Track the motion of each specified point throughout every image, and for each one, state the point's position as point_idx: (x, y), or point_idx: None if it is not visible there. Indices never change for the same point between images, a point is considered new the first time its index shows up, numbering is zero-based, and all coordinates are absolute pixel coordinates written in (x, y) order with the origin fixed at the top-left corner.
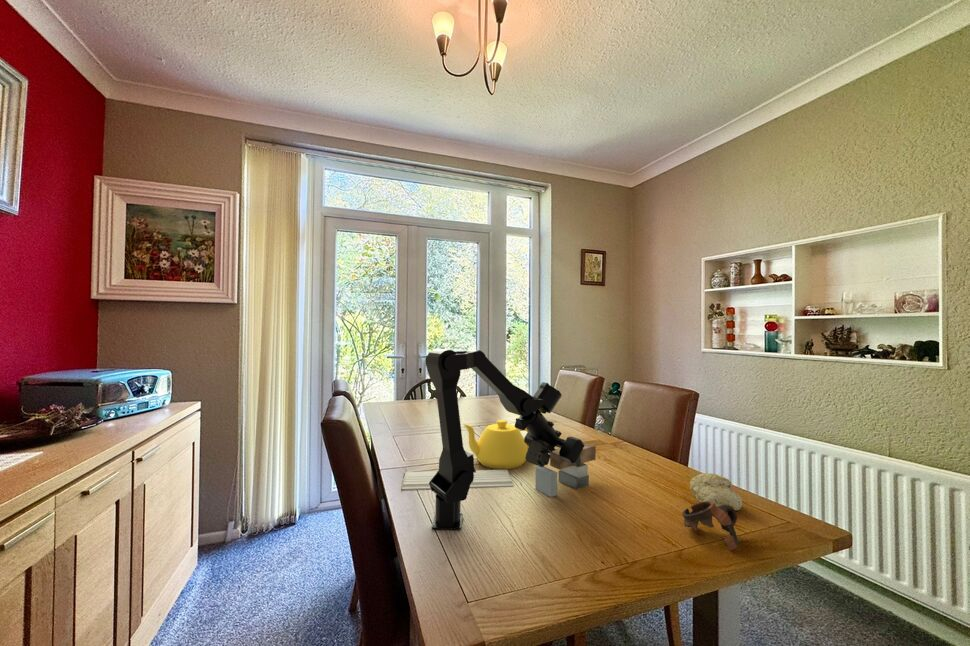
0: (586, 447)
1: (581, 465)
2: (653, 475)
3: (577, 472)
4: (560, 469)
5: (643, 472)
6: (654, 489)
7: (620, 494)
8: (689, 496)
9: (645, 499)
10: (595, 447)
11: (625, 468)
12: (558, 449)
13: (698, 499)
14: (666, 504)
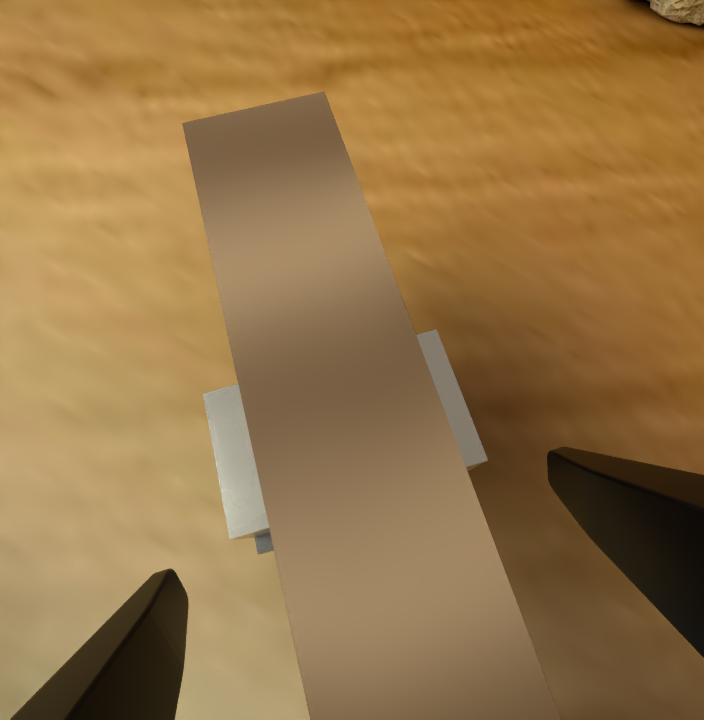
0: (340, 201)
1: (441, 394)
2: (371, 9)
3: (469, 468)
4: (261, 535)
5: (324, 23)
6: (526, 94)
7: (561, 272)
8: (618, 21)
9: (634, 194)
10: (325, 107)
11: (246, 62)
12: (303, 667)
13: (689, 14)
14: (695, 145)
